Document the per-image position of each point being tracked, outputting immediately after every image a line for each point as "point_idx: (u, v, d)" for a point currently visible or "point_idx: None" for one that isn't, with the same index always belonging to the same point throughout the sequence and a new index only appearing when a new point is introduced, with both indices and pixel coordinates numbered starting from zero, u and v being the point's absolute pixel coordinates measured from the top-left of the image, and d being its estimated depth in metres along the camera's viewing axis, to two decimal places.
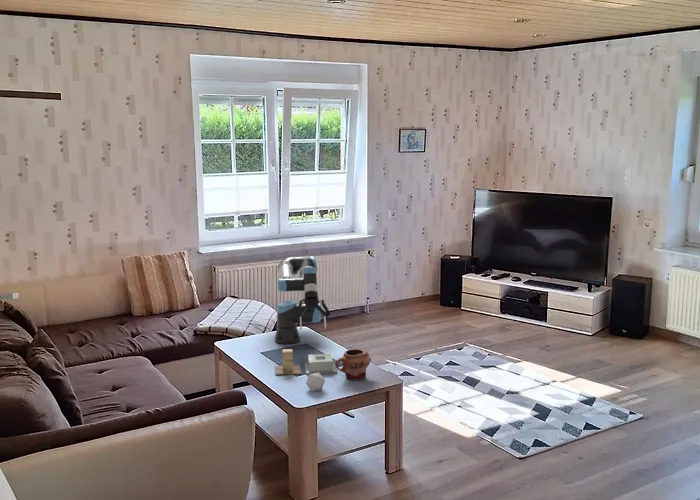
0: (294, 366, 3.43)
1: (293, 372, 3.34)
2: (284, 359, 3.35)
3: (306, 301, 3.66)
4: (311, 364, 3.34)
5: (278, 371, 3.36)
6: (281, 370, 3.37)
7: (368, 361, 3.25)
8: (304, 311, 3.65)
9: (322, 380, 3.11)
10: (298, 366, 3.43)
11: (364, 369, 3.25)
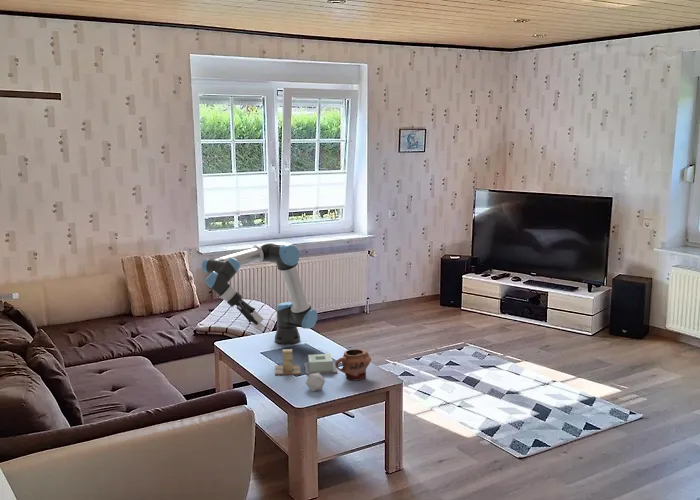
0: (294, 366, 3.43)
1: (293, 372, 3.34)
2: (284, 359, 3.35)
3: None
4: (311, 364, 3.34)
5: (278, 371, 3.36)
6: (281, 370, 3.37)
7: (368, 361, 3.25)
8: (247, 308, 3.35)
9: (322, 380, 3.11)
10: (298, 366, 3.42)
11: (364, 369, 3.25)
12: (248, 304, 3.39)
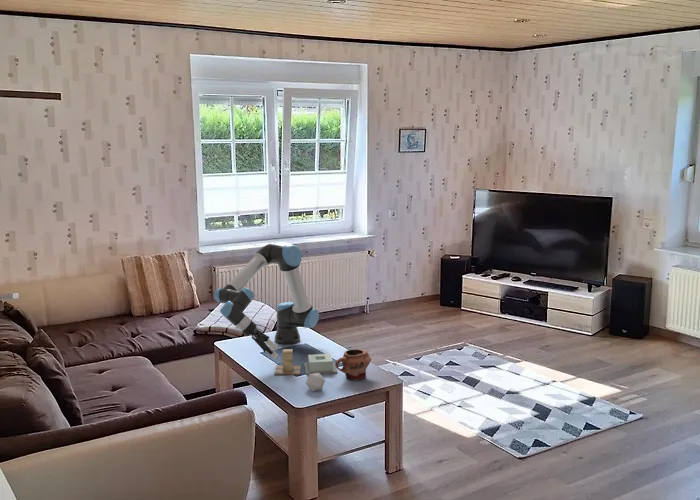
0: (295, 366, 3.42)
1: (292, 372, 3.34)
2: (283, 359, 3.35)
3: None
4: (311, 364, 3.34)
5: (278, 370, 3.36)
6: (281, 370, 3.37)
7: (368, 361, 3.25)
8: (262, 337, 3.37)
9: (322, 380, 3.11)
10: (299, 366, 3.42)
11: (364, 369, 3.25)
12: None
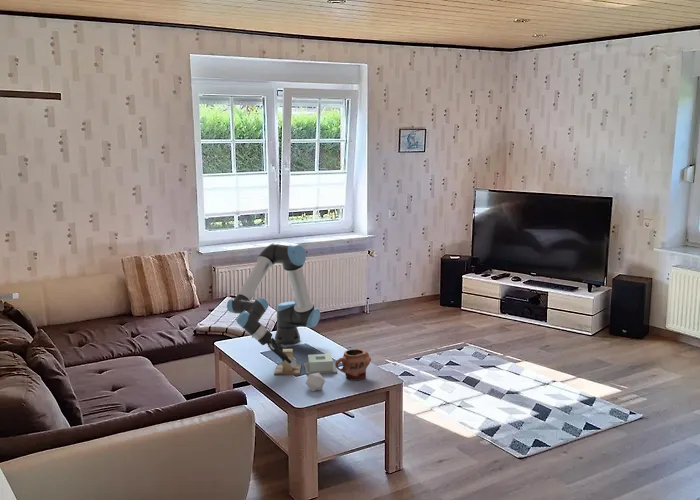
0: (295, 366, 3.42)
1: (292, 372, 3.33)
2: None
3: None
4: (311, 364, 3.34)
5: (278, 370, 3.36)
6: (281, 369, 3.37)
7: (368, 361, 3.25)
8: (279, 348, 3.38)
9: (322, 380, 3.11)
10: (299, 366, 3.42)
11: (364, 369, 3.25)
12: (280, 345, 3.42)
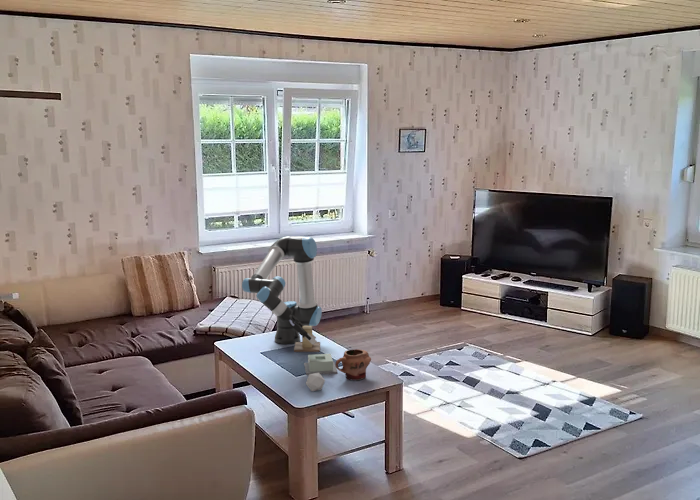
0: None
1: (312, 349, 3.32)
2: None
3: None
4: (311, 364, 3.34)
5: (297, 347, 3.35)
6: (300, 346, 3.36)
7: (368, 361, 3.25)
8: (299, 325, 3.37)
9: (322, 380, 3.11)
10: (318, 343, 3.40)
11: (364, 369, 3.25)
12: (300, 322, 3.41)
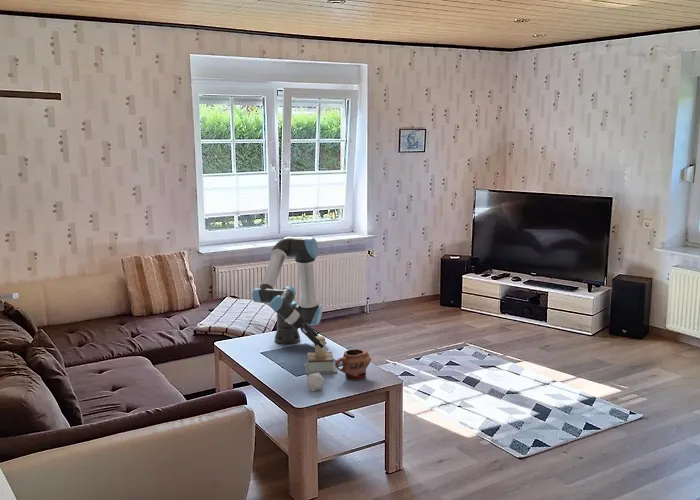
0: (326, 353, 3.44)
1: (325, 359, 3.35)
2: (316, 346, 3.36)
3: None
4: (311, 364, 3.34)
5: (311, 357, 3.37)
6: (313, 357, 3.38)
7: (368, 361, 3.25)
8: (311, 331, 3.40)
9: (322, 380, 3.11)
10: (330, 353, 3.44)
11: (364, 369, 3.25)
12: (311, 328, 3.45)
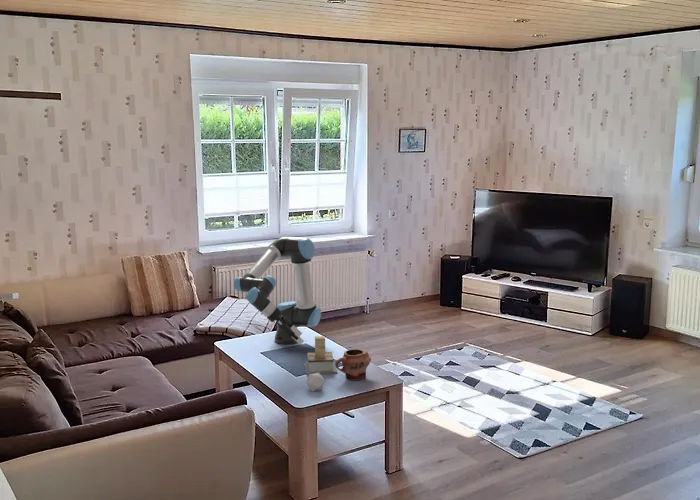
0: (326, 353, 3.44)
1: (325, 359, 3.35)
2: (316, 346, 3.36)
3: None
4: (311, 364, 3.34)
5: (311, 357, 3.37)
6: (313, 357, 3.38)
7: (368, 361, 3.25)
8: (287, 323, 3.39)
9: (322, 380, 3.11)
10: (330, 353, 3.44)
11: (364, 369, 3.25)
12: (287, 319, 3.43)
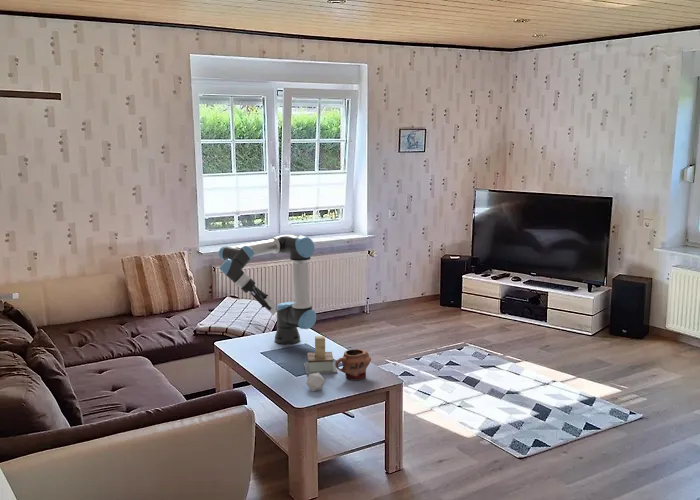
0: (326, 353, 3.44)
1: (325, 359, 3.35)
2: (316, 346, 3.36)
3: None
4: (311, 364, 3.34)
5: (311, 357, 3.37)
6: (313, 357, 3.38)
7: (368, 361, 3.25)
8: (261, 294, 3.47)
9: (322, 380, 3.11)
10: (330, 353, 3.44)
11: (364, 369, 3.25)
12: None
